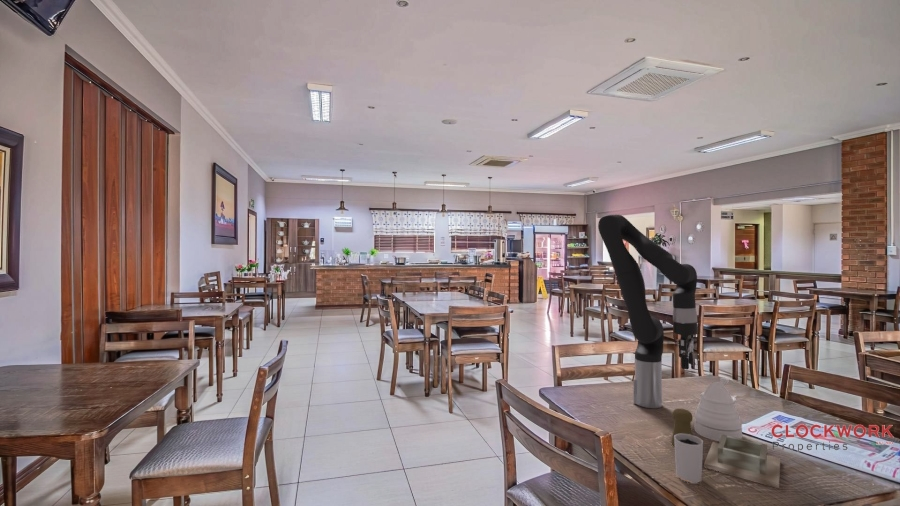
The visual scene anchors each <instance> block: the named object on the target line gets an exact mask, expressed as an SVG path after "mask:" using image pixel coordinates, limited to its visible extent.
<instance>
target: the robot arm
mask: <svg viewBox="0 0 900 506" xmlns="http://www.w3.org/2000/svg"><path fill="white" fill-rule="evenodd" d="M597 224H598V225H597V227H598V232H599V234H600V237H601V239H602V241H603V243H604V245H605V248H606V250H607V253H608V255H609V259H610V262H611V264H612V267H613V270H614V275H615V279H616V280H617V284H618V286H619V289H620V291H621V295H622V297H623V300H624V304H625V306H626V309H627V313H628V317H629V318H628V319H629V322H630V327H631V331H632V335H633V336H634V338H635V339H636V341H637V346H636V349H635V351H634V373H635V374H634V378H633V383H632V384H633V404H635V405H637V406H640V407H643V408H646V409H660V408H662V406H663V404H662V403H663V389H662V388H663V383H662V381H663V380H662V378H663V377H662V375H663V374H662V373H663V372H662V371H663V370H662V364H663V363H662V357H663V354H664V338H665V337H664V336H665V335H664V334H665V333H664V326H663V324H662V322H661V321H660V320H659V319H658V318H657V317H654V316H652V315H651V313H650V311H649V308H648V304H647V299H646V297H647V296H646V286H645V285H646V284H645V281H644V280H645V279H644V276H643V273H642V270H641V268H640V265H639V264H638V262H637V261H636V259H635V257H634V256H633V255H632V254H631V253H630V251H629V250H628V249H627V247H626V245H625V242H627V243H628V244H629V245H631V246H632V247H633V248H634V249H635V250H636V252H637V254H639V255H640V256H641V257H642V258H643V259H644V260H645V261H646V262H648V263H649V264H651V265H652V266H653V267H655V268H656V269H658V271H659V272H661V274H662V275H663V276H664V277H665V278H666V279H667V280H669V281H670V282H672V283H673V284H675V285H676V287H675V288H676V289H675V291H673V294H672V322H673V324H672V325H673V333H674V334H675V335H678V336H680V338H679V339H678V340H677V342H678V343H677V344H678V357H679V358H680V363H681V364H680V365H681V367H680V368H681V369H682V370H689V369H690V365H689V364H691V365H692V364H694V350H695V343H694V336H697V335H698V333H699V327H698V313H697V308H696V306H697V305H696V304H697V303H696V296H695V295H696V291H697V284H698V274H697V270H696V269H695V267H694V266H693V265H691V264H689V263H680V262H679V261H677V260H676V259H674V257H673V255H672V254H671V253H670V252H669V251H668V250H666V249H664V248H663V247H662V246H660V245H659V244H657V243H656V242H654V241H653V240H651V239H650V238H648V236H646V235H645V234H643V232H641V231H640V230H639V229H637V227H635V225H634V224H632V223H631V222H630V221H629V219H627V218H626V217H625V216H624V215H621V214H606V215H603V216H601V217H600V218H599V220H598V223H597ZM624 241H625V242H624Z"/></svg>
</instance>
